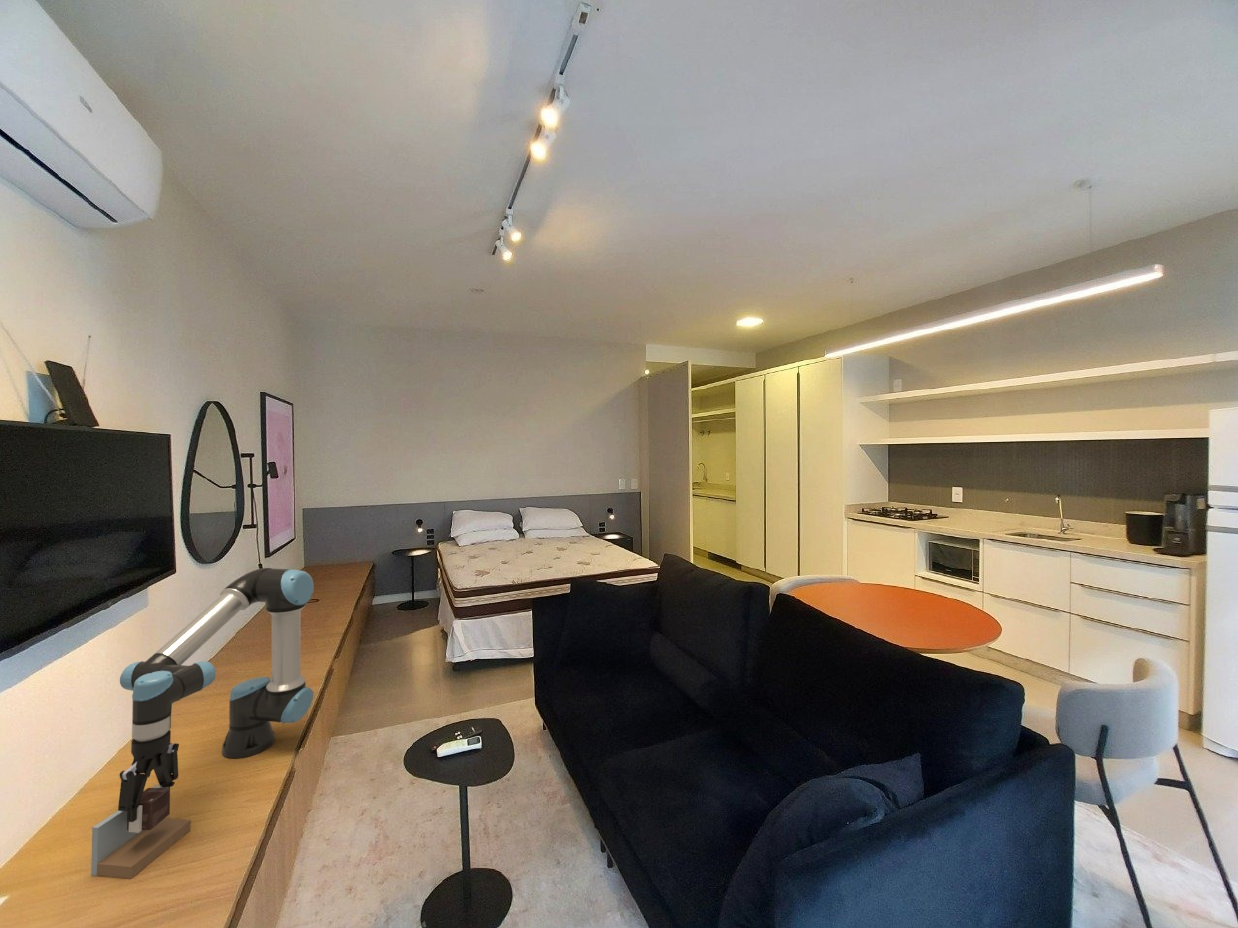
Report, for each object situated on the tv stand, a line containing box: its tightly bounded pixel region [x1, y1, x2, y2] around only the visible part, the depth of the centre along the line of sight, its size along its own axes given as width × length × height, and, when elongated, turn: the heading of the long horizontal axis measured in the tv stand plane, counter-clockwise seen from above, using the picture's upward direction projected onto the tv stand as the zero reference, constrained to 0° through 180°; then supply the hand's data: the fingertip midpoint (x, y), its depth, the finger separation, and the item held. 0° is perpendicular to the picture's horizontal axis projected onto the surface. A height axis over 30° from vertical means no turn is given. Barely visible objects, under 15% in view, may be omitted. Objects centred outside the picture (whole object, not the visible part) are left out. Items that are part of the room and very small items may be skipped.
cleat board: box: [90, 784, 192, 880], centre depth 131 cm, size 16×10×12 cm, turn 177°
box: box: [127, 787, 171, 830], centre depth 130 cm, size 6×6×7 cm
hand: (148, 821), depth 130 cm, fingers closed on box, 6 cm apart
